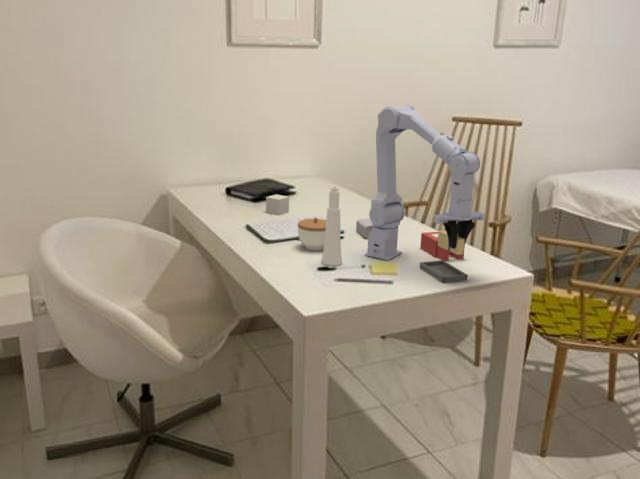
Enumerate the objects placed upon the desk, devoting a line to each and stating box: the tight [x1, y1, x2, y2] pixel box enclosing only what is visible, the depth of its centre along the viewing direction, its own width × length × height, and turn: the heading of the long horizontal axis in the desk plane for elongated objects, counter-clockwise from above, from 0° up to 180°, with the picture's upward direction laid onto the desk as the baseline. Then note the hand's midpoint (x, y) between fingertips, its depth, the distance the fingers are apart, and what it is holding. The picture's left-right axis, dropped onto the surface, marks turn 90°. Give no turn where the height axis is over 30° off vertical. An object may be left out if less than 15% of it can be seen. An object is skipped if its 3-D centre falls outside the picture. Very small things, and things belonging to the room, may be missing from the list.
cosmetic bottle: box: [320, 186, 343, 267], centre depth 185 cm, size 6×6×22 cm
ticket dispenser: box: [420, 231, 466, 262], centre depth 199 cm, size 13×8×5 cm, turn 20°
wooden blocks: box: [437, 230, 465, 255], centre depth 180 cm, size 10×2×4 cm, turn 21°
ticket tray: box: [419, 259, 469, 284], centre depth 181 cm, size 13×8×2 cm, turn 20°
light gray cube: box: [265, 194, 290, 216], centre depth 241 cm, size 6×6×6 cm
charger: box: [355, 217, 374, 240], centre depth 219 cm, size 5×9×15 cm
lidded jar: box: [297, 217, 326, 251], centre depth 200 cm, size 11×11×9 cm
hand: (456, 247), depth 178 cm, fingers closed on wooden blocks, 2 cm apart
